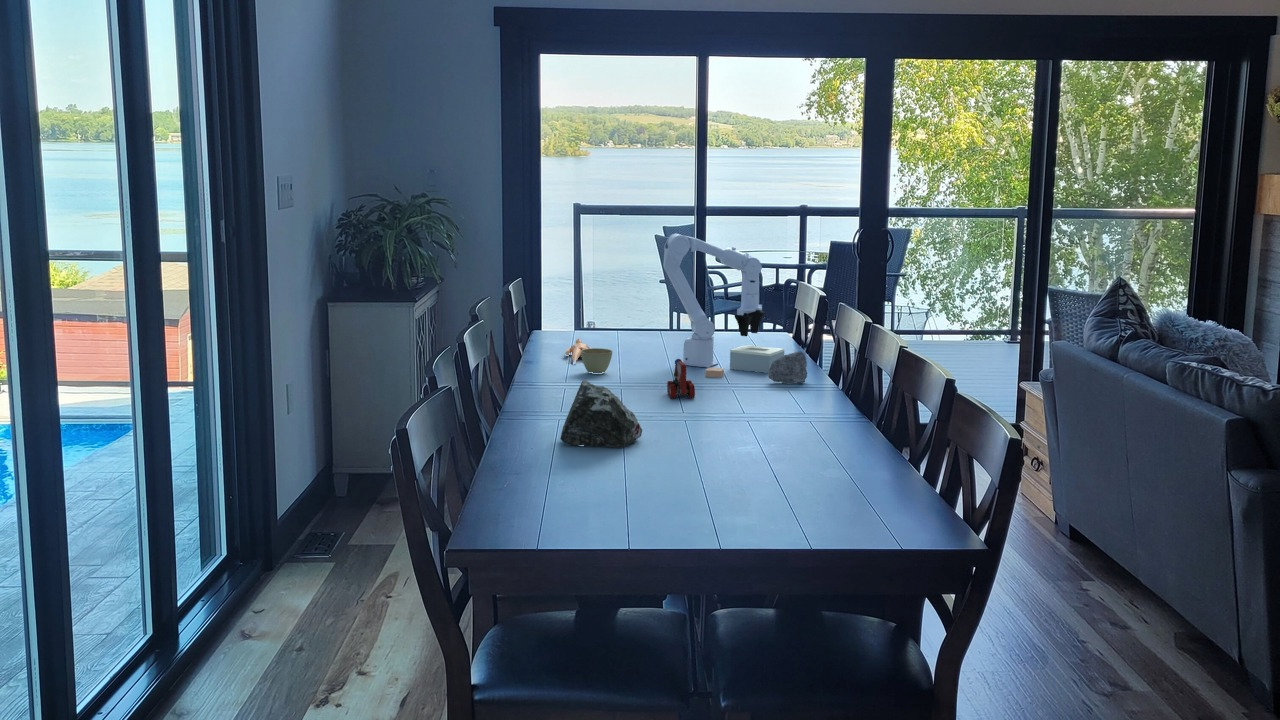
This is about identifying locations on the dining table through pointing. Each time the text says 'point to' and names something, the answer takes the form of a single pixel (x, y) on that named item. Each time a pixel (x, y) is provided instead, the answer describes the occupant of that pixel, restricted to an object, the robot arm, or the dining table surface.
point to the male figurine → (576, 349)
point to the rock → (789, 368)
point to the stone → (599, 419)
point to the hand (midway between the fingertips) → (749, 334)
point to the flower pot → (596, 359)
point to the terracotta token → (714, 372)
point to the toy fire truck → (680, 382)
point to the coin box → (754, 358)
